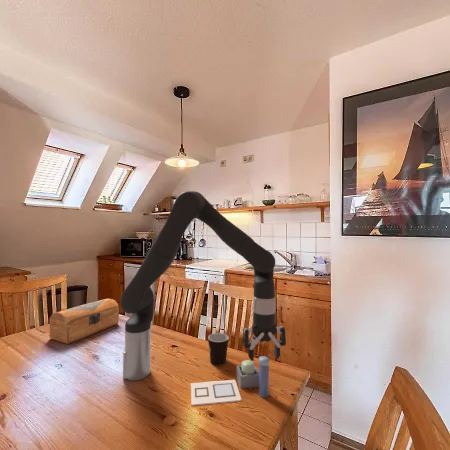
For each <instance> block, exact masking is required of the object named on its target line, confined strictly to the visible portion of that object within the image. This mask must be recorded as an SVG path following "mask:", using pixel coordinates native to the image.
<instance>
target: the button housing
mask: <svg viewBox="0 0 450 450" xmlns="http://www.w3.org/2000/svg"><path fill="white" fill-rule="evenodd" d="M236 379H237V382H238V384H239V388H240V389H245V388H259V369H258V367H257V366H256V364H255V363H254V374H250V375H242V364H240V365H236Z"/></svg>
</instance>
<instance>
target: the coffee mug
mask: <svg viewBox="0 0 450 450" xmlns="http://www.w3.org/2000/svg"><path fill="white" fill-rule="evenodd" d="M207 340H208V341H207V343H208V350H209V361H210V362H209V363H210V364H212V365H213V366H216V365H218V367H219V365H220V366H223V365H225V364H226V363H225V362H227V354H228V346H229V335H227V333H221V332H214V333H211V334H209V335H208V338H207Z"/></svg>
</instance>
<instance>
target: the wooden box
mask: <svg viewBox="0 0 450 450" xmlns="http://www.w3.org/2000/svg"><path fill="white" fill-rule="evenodd" d="M119 317H120V306H119V304H118V302H117V301H116V300H115V299H113V298H104V299H100V300H97V301H96V300H95V301H92V302H89V303H84V304H81V305H77V306H74V307H70V308H67V309H64V310H61V311H57V312H54V313H52V314H51V316H50V317H49V320H48V321H49V338H50V339H51V340H54V341H57V342H60V343H63V344H66V345H70V344H72V343H75V342H78V341H79V340H82V339H84V338H87V337H89V336H92V335H93V334H97V333H98V332H101V331H104V330H107V329H109V328H111V327H114V326H117V325H118V324H119V319H120V318H119Z"/></svg>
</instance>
